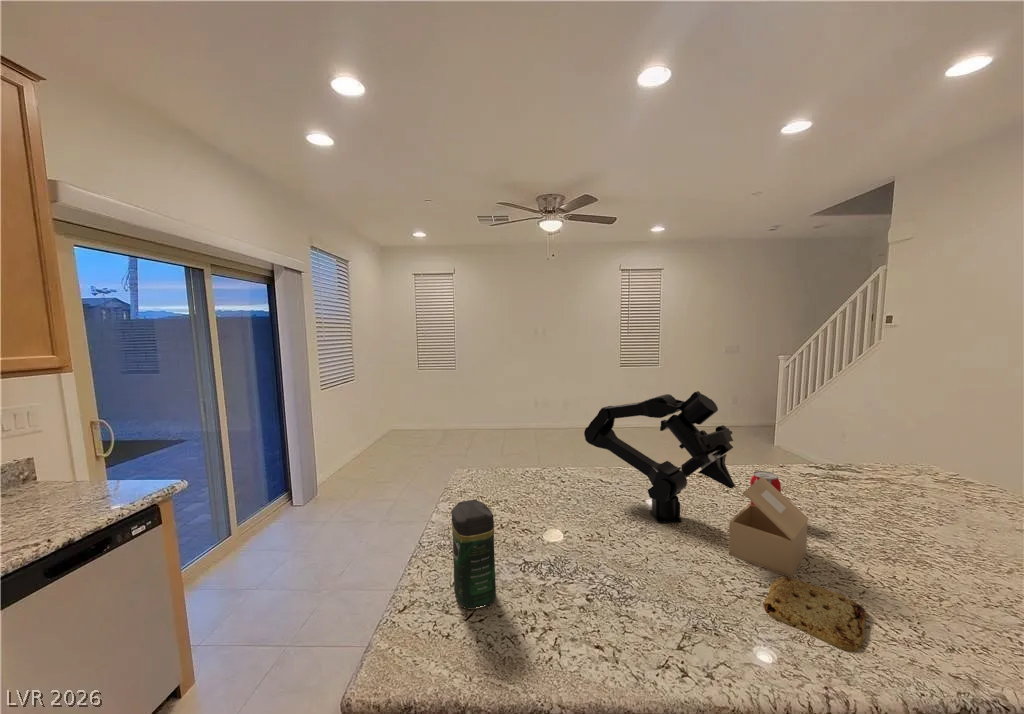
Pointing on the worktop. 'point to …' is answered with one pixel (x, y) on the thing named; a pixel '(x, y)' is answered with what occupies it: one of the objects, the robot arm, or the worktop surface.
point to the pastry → (817, 612)
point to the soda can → (768, 476)
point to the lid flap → (776, 507)
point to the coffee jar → (473, 554)
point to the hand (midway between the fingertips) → (733, 487)
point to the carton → (765, 542)
